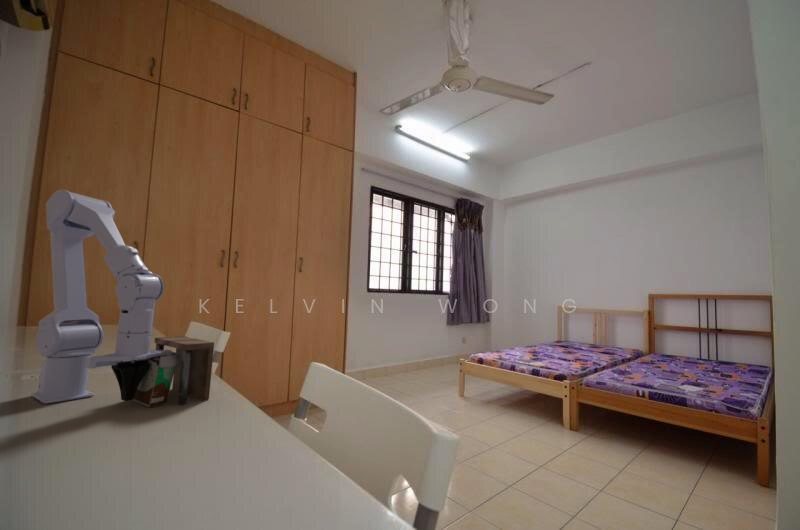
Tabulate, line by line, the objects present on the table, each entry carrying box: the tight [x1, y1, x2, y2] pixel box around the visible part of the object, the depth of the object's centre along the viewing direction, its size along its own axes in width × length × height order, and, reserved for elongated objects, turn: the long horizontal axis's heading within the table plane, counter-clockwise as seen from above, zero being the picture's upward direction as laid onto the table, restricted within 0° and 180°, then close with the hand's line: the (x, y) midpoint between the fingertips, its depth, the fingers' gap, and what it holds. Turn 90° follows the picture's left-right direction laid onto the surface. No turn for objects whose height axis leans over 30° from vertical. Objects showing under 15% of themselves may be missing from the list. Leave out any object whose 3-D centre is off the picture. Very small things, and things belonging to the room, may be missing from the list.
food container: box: [132, 349, 180, 408], centre depth 78 cm, size 12×6×10 cm, turn 58°
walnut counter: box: [154, 335, 215, 406], centre depth 82 cm, size 14×6×13 cm, turn 58°
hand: (127, 399), depth 73 cm, fingers closed
